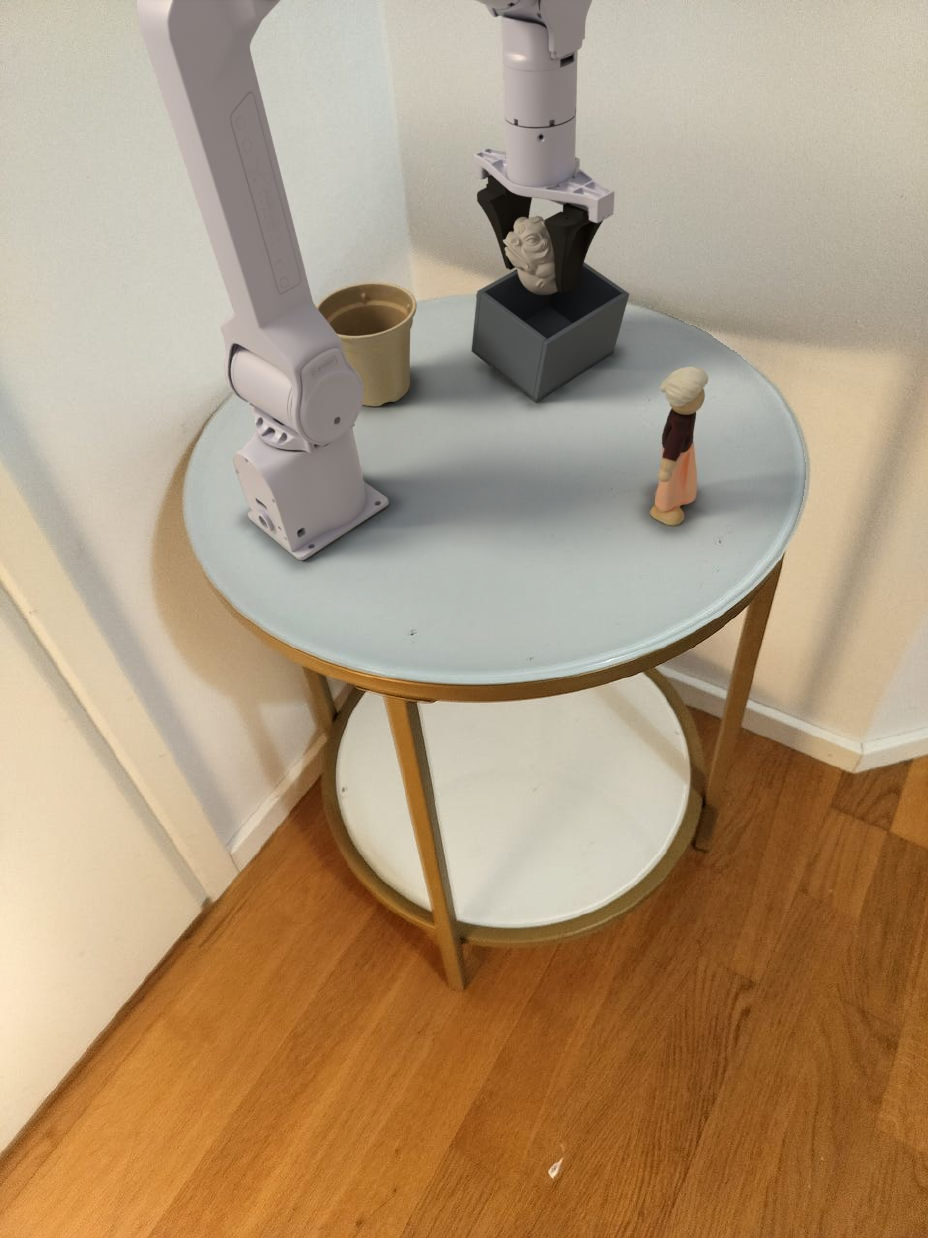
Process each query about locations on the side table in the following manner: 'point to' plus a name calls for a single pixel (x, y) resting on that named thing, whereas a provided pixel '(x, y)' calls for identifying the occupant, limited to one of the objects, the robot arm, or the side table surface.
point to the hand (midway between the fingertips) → (541, 276)
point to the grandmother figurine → (679, 444)
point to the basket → (547, 330)
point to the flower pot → (374, 335)
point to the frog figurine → (532, 255)
